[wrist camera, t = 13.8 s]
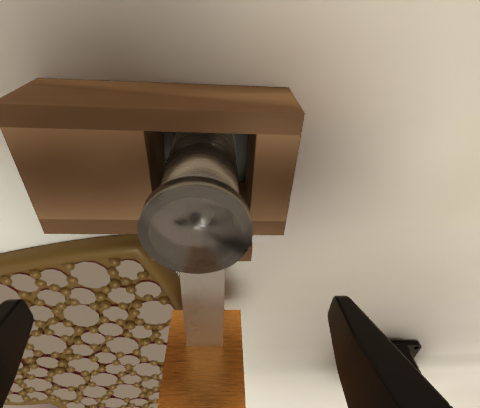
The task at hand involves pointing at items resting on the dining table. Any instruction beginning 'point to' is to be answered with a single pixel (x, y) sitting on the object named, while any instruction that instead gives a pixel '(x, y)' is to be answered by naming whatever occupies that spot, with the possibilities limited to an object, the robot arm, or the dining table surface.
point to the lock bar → (203, 348)
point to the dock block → (141, 147)
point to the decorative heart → (91, 322)
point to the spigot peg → (197, 207)
